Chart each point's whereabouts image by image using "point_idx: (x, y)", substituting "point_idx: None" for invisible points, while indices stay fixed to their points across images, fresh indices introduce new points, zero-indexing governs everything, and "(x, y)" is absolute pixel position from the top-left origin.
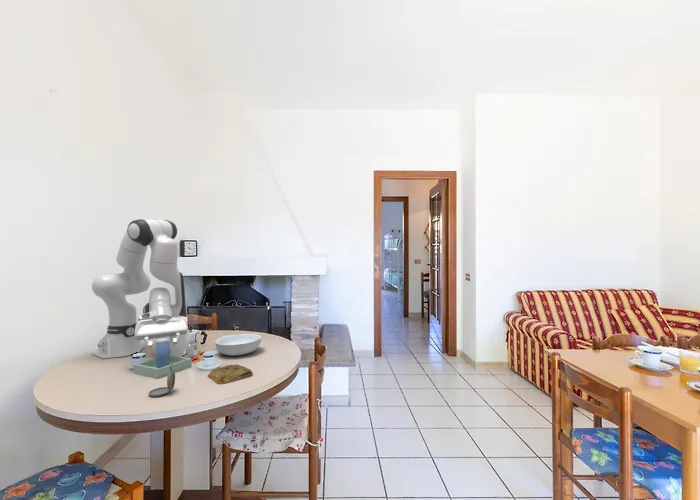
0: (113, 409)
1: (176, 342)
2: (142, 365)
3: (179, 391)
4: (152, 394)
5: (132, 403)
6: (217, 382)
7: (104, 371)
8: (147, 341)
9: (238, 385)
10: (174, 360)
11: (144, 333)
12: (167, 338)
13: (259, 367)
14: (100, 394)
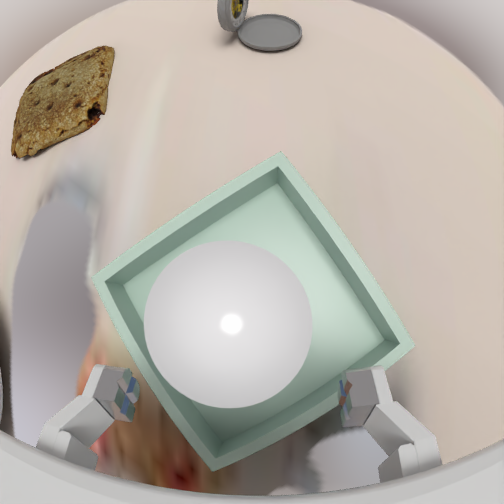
0: (371, 17)
1: (107, 366)
2: (371, 289)
3: (215, 31)
4: (291, 34)
5: (336, 20)
6: (112, 48)
7: (482, 425)
8: (398, 407)
9: (88, 37)
10: (182, 395)
11: (461, 483)
12: (161, 296)
13: None
14: (451, 124)
